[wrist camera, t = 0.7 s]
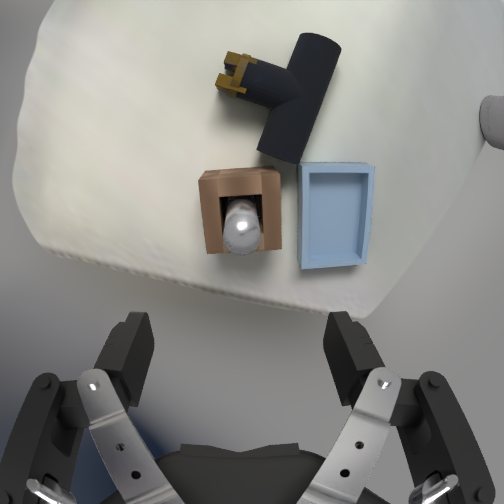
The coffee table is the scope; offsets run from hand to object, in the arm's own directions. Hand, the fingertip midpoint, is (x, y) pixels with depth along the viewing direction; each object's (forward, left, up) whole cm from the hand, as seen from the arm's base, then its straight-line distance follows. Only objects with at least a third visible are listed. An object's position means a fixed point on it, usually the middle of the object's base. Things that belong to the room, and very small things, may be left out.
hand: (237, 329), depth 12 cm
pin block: (0, +1, -25) cm, 25 cm away
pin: (0, +1, -25) cm, 25 cm away
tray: (-12, +3, -25) cm, 28 cm away
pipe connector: (-4, -13, -25) cm, 29 cm away
